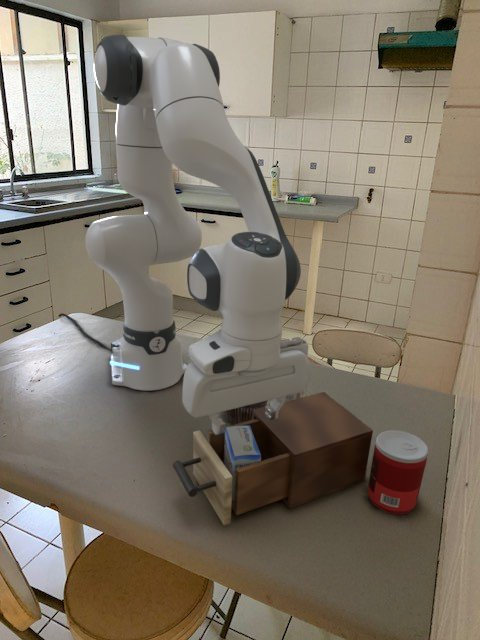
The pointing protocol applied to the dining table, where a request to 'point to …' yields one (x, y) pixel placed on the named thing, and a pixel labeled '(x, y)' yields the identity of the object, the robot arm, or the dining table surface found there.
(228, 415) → the cupcake
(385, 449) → the canned food
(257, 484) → the drawer
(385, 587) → the dining table surface
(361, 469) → the cabinet
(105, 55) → the robot arm
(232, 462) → the medicine box
